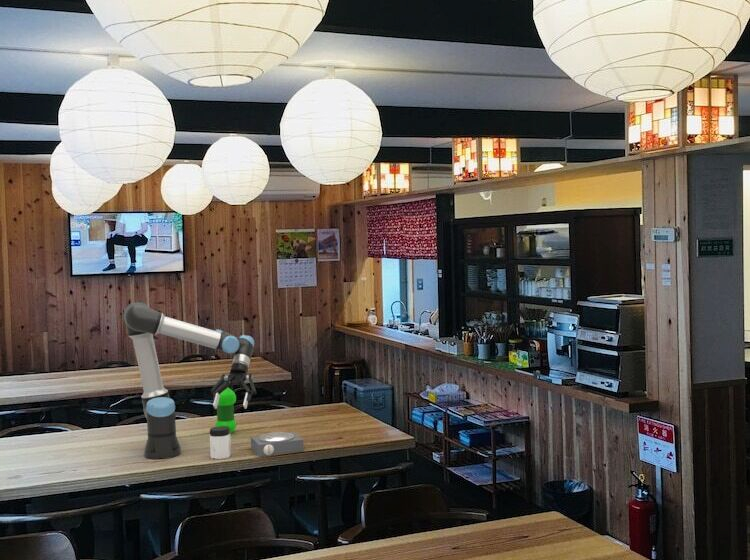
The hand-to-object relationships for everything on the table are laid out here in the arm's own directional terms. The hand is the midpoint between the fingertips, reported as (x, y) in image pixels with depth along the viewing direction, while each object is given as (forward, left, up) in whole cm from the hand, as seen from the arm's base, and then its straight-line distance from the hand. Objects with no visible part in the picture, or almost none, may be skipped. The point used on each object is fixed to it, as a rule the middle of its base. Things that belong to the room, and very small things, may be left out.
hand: (229, 407), depth 349 cm
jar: (-6, -9, -19) cm, 22 cm away
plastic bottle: (+4, +32, -19) cm, 37 cm away
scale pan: (+18, -9, -14) cm, 24 cm away
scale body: (+18, -9, -19) cm, 27 cm away
